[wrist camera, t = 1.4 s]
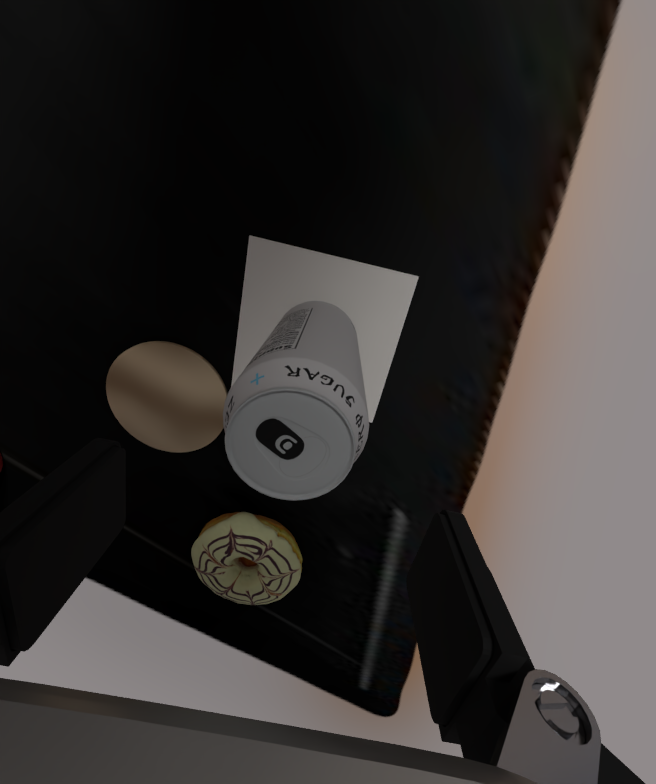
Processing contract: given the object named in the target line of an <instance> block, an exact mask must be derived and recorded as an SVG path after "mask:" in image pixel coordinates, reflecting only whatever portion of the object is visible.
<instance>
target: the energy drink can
mask: <svg viewBox="0 0 656 784" xmlns="http://www.w3.org/2000/svg"><path fill="white" fill-rule="evenodd" d="M223 426H224V430H225V449H226V453H227V456H228V460H229V462H230V463H231V465H232V467H233V469H234V471H235V472H236V473H237V474H238V476H239V477H240V478H241V479H242V480H243V481H244V482H246V483H247V484H248V485H249V486H250V487H252V488H254V489H255V490H257V491H259V492H260V493H263V494H265V495H268V496H270V497H274V498H278V499H282V500H294V501H295V500H307V499H311V498H315V497H318V496H321V495H323V494H325V493H328V492H329V491H331V490H332V489H334V488H335V487H337V486H338V485H339V484H340V483H341V482H342V481H343V480H344V479H345V477H346V476H347V474H348V473H349V471H350V470H351V467H352V465H353V463H354V462H355V461H356V460H357V458H358V457H359V455H360V454H361V452H362V450H363V448H364V446H365V443H366V441H367V437H368V430H369V418H368V409H367V402H366V395H365V388H364V381H363V374H362V367H361V360H360V353H359V346H358V339H357V333H356V330H355V327H354V325H353V323H352V321H351V319H350V318H349V317H348V316H347V314H346V313H345V312H344V311H342V310H341V309H340V308H338V307H337V306H335V305H333V304H330V303H327V302H323V301H308V302H304V303H301V304H298V305H296V306H295V307H293V308H291V309H290V310H289V311H288V312H287V313H286V314H285V315H284V316H283V318H282V319H281V320H280V322H279V323H278V324H277V326H276V327H275V328H274V330H273V331H272V333H271V334H270V335H269V337H268V338H267V339H266V341H265V342H264V343H263V345H262V346H261V347H260V349H259V350H258V352H257V353H256V354H255V356H254V357H253V358H252V360H251V361H250V362H249V364H248V365H247V366H246V368H245V369H244V371H243V372H242V373H241V375H240V376H239V377H238V379H237V380H236V381H235V383H234V384H233V386H232V387H231V388H230V390H229V393H228V395H227V397H226V400H225V403H224V409H223Z"/></svg>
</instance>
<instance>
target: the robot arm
mask: <svg viewBox="0 0 656 784" xmlns="http://www.w3.org/2000/svg"><path fill="white" fill-rule="evenodd" d="M125 520H126V452H125V449H124V448H121V445H120V443H119V442H117V441H112V440H107V439H103V438H95V439H93V440H92V441H91V442H90V443H88V444H87V445H86V446H84V447H83V448H82V449H81V450H79V451H78V452H77V453H76V454H74V455H73V456H72V457H70V458H69V459H68V460H67V461H65V462H64V463H63V464H61V465H60V466H59V467H58V468H56V469H55V470H54V471H53V472H51V473H50V474H49V475H47V476H46V477H45V478H44V479H42V480H41V481H40V482H38V483H37V484H36V485H35V486H33V487H32V488H31V489H29V490H28V491H27V492H26V493H24V494H23V495H22V496H20V497H19V498H18V499H17V500H15V501H14V502H13V503H12V504H10V505H9V506H8V507H6V508H5V509H4V510H3V511H1V512H0V665H3V666H9V665H10V664H11V663H12V661H13V660H14V659H15V658H16V656H17V655H18V654H19V653H20V651H26V650H28V649H29V648H30V647H31V646H32V645H33V644H34V643H35V642H36V640H37V639H38V638H39V637H40V635H41V634H42V632H43V631H44V630H45V629H46V627H47V626H48V625H49V624H50V622H51V621H52V620H53V618H54V617H55V616H56V614H57V613H58V612H59V611H60V609H61V608H62V607H63V605H64V604H65V603H66V601H67V600H68V599H69V598H70V596H71V595H72V594H73V592H74V591H75V590H76V588H77V587H78V586H79V585H80V583H81V582H82V581H83V579H84V578H85V577H86V576H87V574H88V573H89V572H90V570H91V569H92V568H93V567H94V565H95V564H96V563H97V561H98V560H99V559H100V557H101V556H102V555H103V554H104V552H105V551H106V550H107V548H108V547H109V546H110V545H111V543H112V542H113V541H114V539H115V538H116V537H117V535H118V534H119V533H120V532H121V530H122V528H123V526H124V524H125ZM407 590H408V596H409V601H410V606H411V612H412V617H413V622H414V628H415V633H416V638H417V643H418V649H419V654H420V659H421V665H422V670H423V675H424V681H425V686H426V690H427V696H428V702H429V707H430V712H431V716H432V719H433V721H434V723H436V724H439V729H440V734H441V739H442V741H443V742H449V743H455V744H460V745H461V749H462V753H463V757H464V758H461V757H456V756H451V755H446V754H441V753H436V752H431V751H426V750H421V749H416V748H411V747H406V746H401V745H396V744H390V743H384V742H379V741H373V740H367V739H362V738H356V737H350V736H345V735H339V734H334V733H328V732H322V731H317V730H311V729H305V728H299V727H294V726H288V725H283V724H277V723H271V722H265V721H259V720H253V719H248V718H242V717H236V716H230V715H224V714H219V713H213V712H206V711H201V710H195V709H189V708H183V707H177V706H172V705H166V704H160V703H153V702H147V701H142V700H136V699H130V698H123V697H117V696H111V695H105V694H99V693H93V692H87V691H81V690H74V689H69V688H63V687H57V686H50V685H45V684H37V683H31V682H24V681H17V680H10V679H3V678H0V784H645V783H644V782H643V781H642V780H641V779H640V778H638V776H636V775H635V774H634V773H633V772H632V771H631V770H630V769H629V768H628V767H627V766H625V765H624V764H623V763H622V762H621V761H620V760H619V759H618V758H617V757H616V756H614V755H613V754H612V753H611V752H610V751H609V750H608V749H607V748H605V746H604V745H603V744H601V737H600V730H599V727H598V725H597V722H596V719H595V717H594V715H593V714H592V712H591V710H590V709H589V707H588V705H587V704H586V703H585V701H584V700H583V699H582V698H581V696H580V695H579V694H578V693H577V692H576V691H575V690H574V689H573V688H572V687H571V686H570V685H569V684H568V683H567V682H566V681H564V680H562V679H561V678H559V677H558V676H557V675H555V674H553V673H550V672H548V671H545V670H537V669H535V668H534V666H533V664H532V662H531V659H530V657H529V655H528V653H527V651H526V648H525V646H524V644H523V642H522V640H521V637H520V635H519V633H518V631H517V629H516V626H515V624H514V622H513V620H512V618H511V615H510V613H509V611H508V609H507V607H506V604H505V602H504V600H503V598H502V595H501V593H500V591H499V589H498V587H497V584H496V582H495V580H494V578H493V576H492V573H491V572H490V570H489V568H488V567H487V565H486V563H485V561H484V559H483V556H482V554H481V552H480V550H479V547H478V545H477V543H476V541H475V539H474V537H473V534H472V532H471V530H470V527H469V525H468V523H467V521H466V519H465V517H464V515H463V514H461V513H457V512H452V511H447V510H442V511H441V512H440V514H435V515H434V517H433V519H432V521H431V523H430V526H429V528H428V530H427V532H426V535H425V537H424V539H423V541H422V544H421V546H420V548H419V550H418V552H417V555H416V557H415V559H414V561H413V564H412V566H411V568H410V570H409V573H408V575H407Z"/></svg>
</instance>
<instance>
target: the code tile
mask: <svg viewBox="0 0 656 784" xmlns="http://www.w3.org/2000/svg"><path fill="white" fill-rule="evenodd" d="M418 278H419V277H418V276H415V275H411V274H407V273H402V272H398V271H394V270H390V269H386V268H382V267H378V266H374V265H370V264H366V263H362V262H358V261H353V260H349V259H345V258H341V257H337V256H333V255H329V254H325V253H321V252H317V251H313V250H308V249H304V248H300V247H296V246H292V245H288V244H284V243H280V242H276V241H272V240H268V239H264V238H259V237H255V236H251V235H249V243H248V251H247V259H246V268H245V276H244V284H243V293H242V301H241V309H240V318H239V326H238V334H237V342H236V351H235V359H234V367H233V376H232V384H231V387H232V386H233V384H234V383H235V381H236V380H237V379H238V377H239V376H240V375H241V373H242V372H243V371H244V369H245V368H246V366H247V365H248V364H249V362H250V361H251V360H252V358H253V357H254V356H255V354H256V353H257V352H258V350H259V349H260V347H261V346H262V345H263V343H264V342H265V341H266V339H267V338H268V337H269V335H270V334H271V333H272V331H273V330H274V328H275V327H276V326H277V324H278V323H279V322H280V320H281V319H282V318H283V316H284V315H285V314H286V313H287V312H288V311H289V310H290V309H291V308H293V307H295V306H296V305H298V304H301V303H304V302H308V301H323V302H327V303H330V304H333V305H335V306H337V307H338V308H340V309H341V310H342V311H344V312H345V313H346V314H347V316H348V317H349V318H350V319H351V321H352V323H353V325H354V327H355V330H356V333H357V339H358V346H359V353H360V360H361V367H362V374H363V381H364V388H365V395H366V402H367V409H368V418H369V422H371V423H372V422H373V419H374V415H375V412H376V409H377V406H378V403H379V400H380V397H381V394H382V390H383V387H384V384H385V381H386V378H387V375H388V372H389V368H390V365H391V362H392V359H393V356H394V353H395V350H396V347H397V343H398V340H399V337H400V334H401V331H402V328H403V325H404V321H405V318H406V315H407V312H408V309H409V306H410V303H411V300H412V296H413V293H414V290H415V287H416V284H417V281H418Z"/></svg>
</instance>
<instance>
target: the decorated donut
mask: <svg viewBox="0 0 656 784" xmlns="http://www.w3.org/2000/svg"><path fill="white" fill-rule="evenodd" d="M191 556H192V560H193V564H194V567H195V570H196V572H197V574H198V576H199V578H200V579H201V581H202V582H203V583H204V584H205V585H206V586H208V587H209V588H210V589H211V590H212V591H213V592H214V593H216V594H217V595H219V596H222V597H223V598H225V599H228V600H231V601H234V602H236V603H239V604H247V605H260V604H269V603H272V602H274V601H277V600H280V599H282V598H283V597H284V596H285V595H287V594H288V593H289V592H290V591H291V590H292V589H293V588H294V587H295V586H296V585H297V584H298V582H299V580H300V576H301V571H302V560H303V559H302V555H301V552H300V550H299V547H298V545H297V543H296V541H295V538H294V537H293V535H292V534H291V533H290V531H289V530H287V529H286V528H285V527H284V526H283V525H282V524H280V523H279V522H277V521H275V520H273V519H270V518H267V517H265V516H261V515H254V514H251V513H247V512H234V513H227V514H223V515H221V516H219V517H217V518H214V519H212V520H211V521H209V522H208V523H207V524H206V526H205V527H204V528H203V529H202V531H201V533H200V535H199V537H198V539H197V540H196V541H195V542H194V544H193V546H192V550H191Z"/></svg>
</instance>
